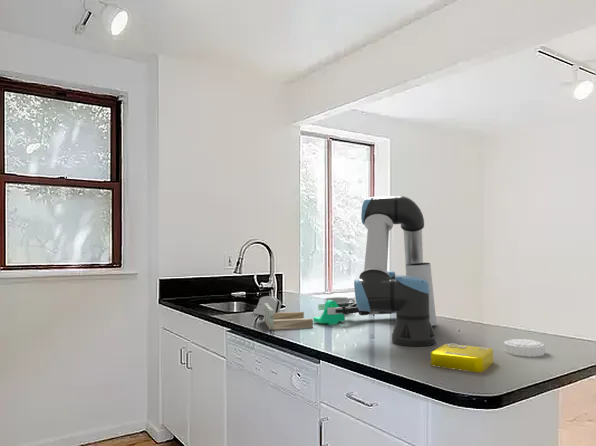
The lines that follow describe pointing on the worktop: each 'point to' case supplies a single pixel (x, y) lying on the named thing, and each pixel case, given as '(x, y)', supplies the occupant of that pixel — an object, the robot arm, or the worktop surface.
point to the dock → (285, 319)
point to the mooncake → (524, 347)
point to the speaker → (425, 273)
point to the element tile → (462, 357)
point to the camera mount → (330, 318)
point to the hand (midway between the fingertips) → (322, 309)
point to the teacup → (341, 299)
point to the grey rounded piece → (271, 301)
